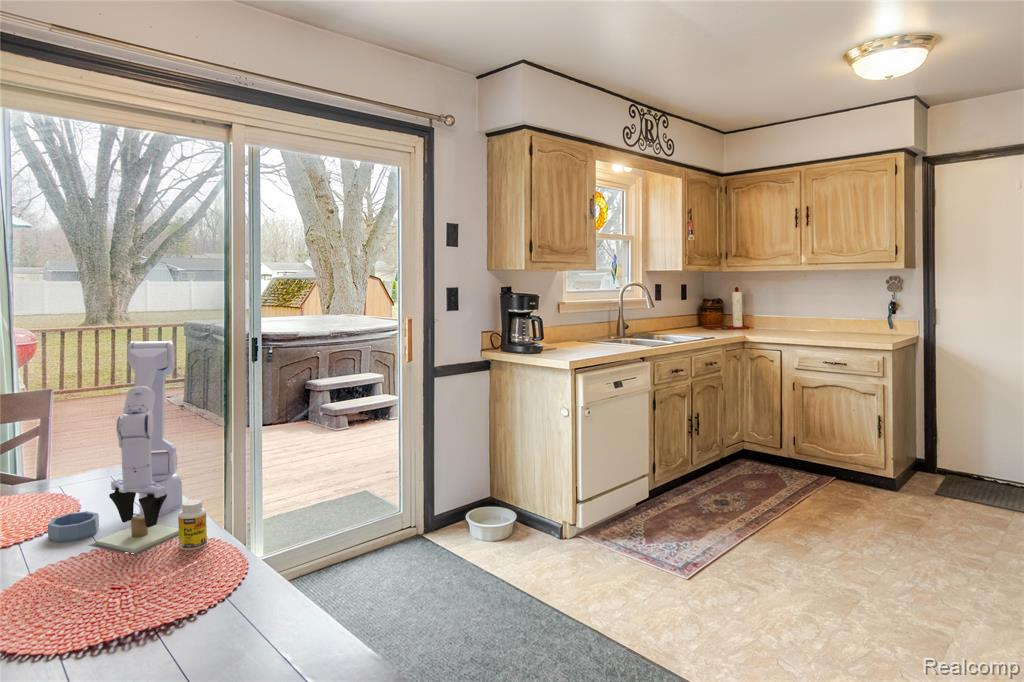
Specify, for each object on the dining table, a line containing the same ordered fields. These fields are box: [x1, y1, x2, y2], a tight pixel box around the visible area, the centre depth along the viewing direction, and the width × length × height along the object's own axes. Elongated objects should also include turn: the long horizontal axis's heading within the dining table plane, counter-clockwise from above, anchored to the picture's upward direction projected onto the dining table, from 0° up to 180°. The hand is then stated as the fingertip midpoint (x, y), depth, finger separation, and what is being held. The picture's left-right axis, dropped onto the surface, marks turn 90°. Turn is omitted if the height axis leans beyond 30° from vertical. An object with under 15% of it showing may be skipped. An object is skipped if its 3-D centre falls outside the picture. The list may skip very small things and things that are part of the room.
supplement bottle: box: [177, 498, 208, 551], centre depth 137 cm, size 6×6×10 cm
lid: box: [95, 515, 179, 553], centre depth 140 cm, size 12×12×5 cm
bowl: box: [47, 510, 100, 543], centre depth 142 cm, size 9×9×4 cm
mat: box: [88, 534, 179, 557], centre depth 141 cm, size 14×14×1 cm
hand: (139, 523), depth 140 cm, fingers open, 7 cm apart
